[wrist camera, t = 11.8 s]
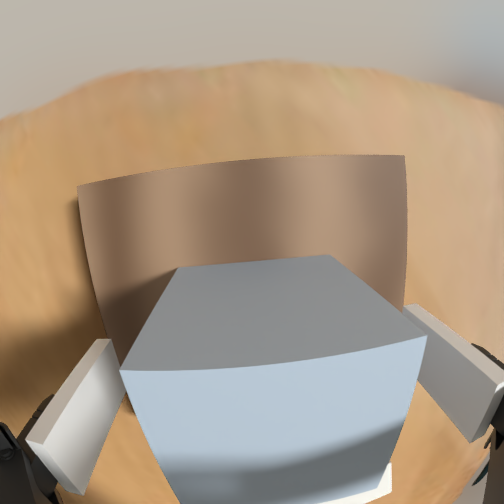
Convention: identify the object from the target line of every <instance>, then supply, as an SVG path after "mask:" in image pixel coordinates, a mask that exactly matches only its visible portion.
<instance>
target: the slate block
mask: <svg viewBox="0 0 504 504" xmlns="http://www.w3.org/2000/svg"><path fill="white" fill-rule="evenodd" d="M427 336H428V335H427V334H426V333H424V332H423V331H422V330H421V329H420V328H419V327H418V326H416V325H415V324H414V323H413V322H412V321H411V320H409V319H408V318H407V317H406V316H405V315H403V314H402V313H401V312H400V311H399V310H398V309H396V308H395V307H394V306H393V305H392V304H390V303H389V302H388V301H387V300H386V299H384V298H383V297H382V296H381V295H380V294H378V293H377V292H376V291H375V290H373V289H372V288H371V287H370V286H369V285H367V284H366V283H365V282H364V281H362V280H361V279H360V278H359V277H357V276H356V275H355V274H354V273H352V272H351V271H350V270H349V269H347V268H346V267H345V266H344V265H342V264H341V263H340V262H339V261H337V260H336V259H335V258H334V257H332V256H331V255H330V254H329V255H318V256H307V257H296V258H285V259H274V260H262V261H251V262H239V263H227V264H215V265H203V266H191V267H178V269H177V270H176V272H175V274H174V275H173V277H172V279H171V280H170V282H169V284H168V285H167V287H166V289H165V290H164V292H163V294H162V295H161V297H160V299H159V300H158V302H157V304H156V305H155V307H154V309H153V311H152V312H151V314H150V316H149V318H148V319H147V321H146V323H145V324H144V326H143V328H142V330H141V332H140V333H139V335H138V337H137V339H136V340H135V342H134V344H133V346H132V348H131V349H130V351H129V353H128V355H127V357H126V358H125V360H124V362H123V364H122V366H121V368H120V370H119V371H120V374H121V377H122V380H123V382H124V385H125V388H126V391H127V393H128V396H129V399H130V401H131V404H132V406H133V409H134V411H135V414H136V416H137V418H138V421H139V423H140V425H141V428H142V430H143V432H144V434H145V437H146V439H147V441H148V443H149V445H150V447H151V450H152V452H153V454H154V456H155V458H156V460H157V462H158V464H159V466H160V468H161V470H162V472H163V473H164V475H165V477H166V479H167V481H168V483H169V484H170V486H171V488H172V490H173V492H174V493H175V495H176V497H177V499H178V500H179V502H180V504H318V503H323V502H328V501H332V500H336V499H341V498H345V497H348V496H352V495H356V494H359V493H363V492H366V491H370V490H373V489H376V488H377V487H378V485H379V483H380V481H381V478H382V476H383V474H384V472H385V470H386V467H387V465H388V463H389V460H390V458H391V456H392V453H393V451H394V448H395V446H396V443H397V440H398V438H399V435H400V432H401V430H402V427H403V424H404V421H405V418H406V415H407V412H408V409H409V406H410V403H411V399H412V396H413V393H414V389H415V386H416V382H417V378H418V375H419V371H420V367H421V363H422V359H423V354H424V350H425V345H426V340H427Z"/></svg>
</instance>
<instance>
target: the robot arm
mask: <svg viewBox="0 0 504 504" xmlns="http://www.w3.org/2000/svg"><path fill="white" fill-rule="evenodd" d="M402 314H403V315H405V316H406V317H407V318H408V319H409V320H411V321H412V322H413V323H414V324H415V325H416V326H418V327H419V328H420V329H421V330H422V331H423V332H424V333H426V334H427V335H428V336H427V340H426V345H425V350H424V354H423V359H422V363H421V367H420V371H419V375H418V378H417V380H418V381H419V383H420V384H421V385H422V386H423V387H424V388H425V390H426V391H427V392H428V393H429V394H430V396H431V397H432V398H433V399H434V400H435V401H436V403H437V404H438V405H439V406H440V407H441V409H442V410H443V411H444V412H445V413H446V415H447V416H448V417H449V418H450V419H451V421H452V422H453V423H454V424H455V426H456V427H457V428H458V429H459V430H460V432H461V433H462V434H463V435H464V437H465V438H466V439H467V440H468V442H469V443H471V442H473V441H475V440H477V439H478V438H480V437H482V436H483V435H484V434H485V432H486V431H487V429H488V427H489V425H490V423H491V425H492V426H493V427H494V429H493V431H492V433H491V435H490V437H489V438H488V440H487V442H486V443H485V446H484V449H486V448H487V446H488V445H489V443H490V442H491V447H490V459H489V468H488V476H487V483H486V489H485V494H484V500H483V504H504V364H503V363H502V362H501V361H499V360H497V358H496V357H494V356H493V355H491V354H490V353H489V352H488V351H487V350H485V349H484V348H483V347H480V346H478V345H475V344H473V343H472V344H470V343H469V342H467V341H466V340H465V339H464V338H462V337H461V336H460V335H458V334H457V333H456V332H454V331H453V330H452V329H450V328H449V327H448V326H446V325H445V324H444V323H442V322H441V321H440V320H438V319H437V318H436V317H434V316H433V315H432V314H430V313H429V312H428V311H426V310H425V309H423V308H422V307H421V306H419V305H418V304H417V303H415V304H410V305H406V306H403V311H402ZM120 368H121V367H120V364H119V362H118V359H117V356H116V353H115V349H114V346H113V343H112V340H111V339H96V341H95V342H94V343H93V344H92V346H91V347H90V348H89V350H88V351H87V352H86V353H85V355H84V356H83V357H82V359H81V360H80V361H79V363H78V364H77V365H76V367H75V368H74V369H73V371H72V372H71V374H70V375H69V376H68V378H67V379H66V380H65V382H64V383H63V384H62V386H61V387H60V389H59V390H58V391H57V393H56V394H55V395H53V394H52V395H50V396H49V397H48V398H46V399H45V400H44V401H42V403H41V404H40V406H39V407H38V408H37V411H35V413H34V414H33V415H32V418H30V420H29V421H28V423H27V424H26V426H25V427H24V428H23V430H22V431H21V433H20V434H19V436H18V437H17V439H16V438H15V437H14V435H13V434H12V433H11V431H10V430H9V428H8V426H7V425H6V424H4V423H2V422H0V504H63V501H62V499H61V497H60V494H59V492H58V491H57V489H56V488H55V487H56V485H57V482H58V483H59V484H60V485H61V486H62V487H63V488H64V489H65V490H66V491H68V492H71V493H75V494H79V495H83V496H84V494H85V491H86V488H87V485H88V483H89V480H90V477H91V475H92V472H93V470H94V467H95V465H96V462H97V459H98V457H99V454H100V452H101V449H102V447H103V445H104V442H105V440H106V437H107V435H108V432H109V430H110V428H111V425H112V423H113V421H114V418H115V416H116V414H117V411H118V409H119V407H120V404H121V402H122V400H123V398H124V395H125V393H126V388H125V385H124V382H123V380H122V377H121V374H120V371H119V370H120Z"/></svg>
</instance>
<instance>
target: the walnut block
mask: <svg viewBox="0 0 504 504" xmlns="http://www.w3.org/2000/svg"><path fill="white" fill-rule="evenodd" d="M77 193H78V202H79V210H80V217H81V224H82V230H83V236H84V242H85V248H86V253H87V258H88V263H89V268H90V273H91V277H92V282H93V286H94V290H95V294H96V298H97V302H98V306H99V310H100V313H101V317H102V321H103V324H104V327H105V331H106V334H107V337H108V339H111V340H112V343H113V346H114V349H115V353H116V356H117V359H118V362H119V364H120V367H121V366H122V364H123V362H124V360H125V358H126V357H127V355H128V353H129V351H130V349H131V348H132V346H133V344H134V342H135V340H136V339H137V337H138V335H139V333H140V332H141V330H142V328H143V326H144V324H145V323H146V321H147V319H148V318H149V316H150V314H151V312H152V311H153V309H154V307H155V305H156V304H157V302H158V300H159V299H160V297H161V295H162V294H163V292H164V290H165V289H166V287H167V285H168V284H169V282H170V280H171V279H172V277H173V275H174V274H175V272H176V270H177V269H178V267H191V266H203V265H215V264H227V263H239V262H251V261H262V260H274V259H285V258H296V257H307V256H318V255H329V254H330V255H331V256H332V257H334V258H335V259H336V260H337V261H339V262H340V263H341V264H342V265H344V266H345V267H346V268H347V269H349V270H350V271H351V272H352V273H354V274H355V275H356V276H357V277H359V278H360V279H361V280H362V281H364V282H365V283H366V284H367V285H369V286H370V287H371V288H372V289H373V290H375V291H376V292H377V293H378V294H380V295H381V296H382V297H383V298H384V299H386V300H387V301H388V302H389V303H390V304H392V305H393V306H394V307H395V308H396V309H398V310H399V311H400V312H401V313H402V311H403V303H404V292H405V279H406V261H407V186H406V169H405V156H400V155H318V156H294V157H277V158H263V159H250V160H239V161H229V162H219V163H210V164H202V165H194V166H186V167H179V168H172V169H165V170H159V171H152V172H146V173H140V174H135V175H129V176H123V177H118V178H113V179H108V180H103V181H98V182H93V183H89V184H84V185H80V186H77ZM126 392H127V391H126ZM127 394H128V393H127ZM128 397H129V396H128ZM130 402H131V401H130Z"/></svg>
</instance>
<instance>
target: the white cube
mask: <svg viewBox="0 0 504 504" xmlns="http://www.w3.org/2000/svg"><path fill="white" fill-rule="evenodd" d="M390 492H392V477H391V461H390V460H389V463H388V465H387V467H386V470H385V472H384V474H383V476H382V478H381V481H380V483H379V485H378V487H377V488H376V489H373V490H370V491H366V492H363V493H359V494H356V495H352V496H348V497H345V498H341V499H336V500H332V501H328V502H323V503H318V504H365V503H367V502H370V501H372V500H375V499H377V498H379V497H382V496H384V495H386V494H388V493H390Z"/></svg>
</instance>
